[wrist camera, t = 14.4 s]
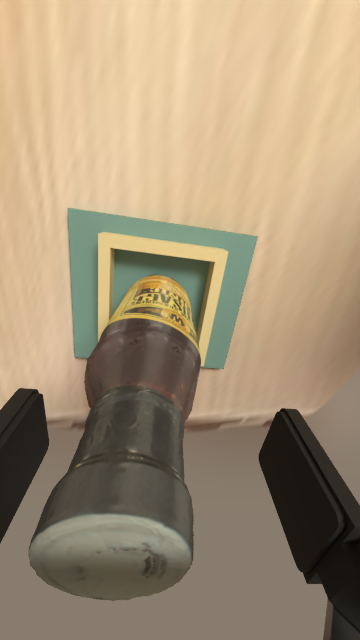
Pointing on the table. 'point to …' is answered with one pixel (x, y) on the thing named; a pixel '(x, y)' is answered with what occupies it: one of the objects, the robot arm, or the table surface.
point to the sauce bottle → (128, 457)
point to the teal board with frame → (161, 259)
